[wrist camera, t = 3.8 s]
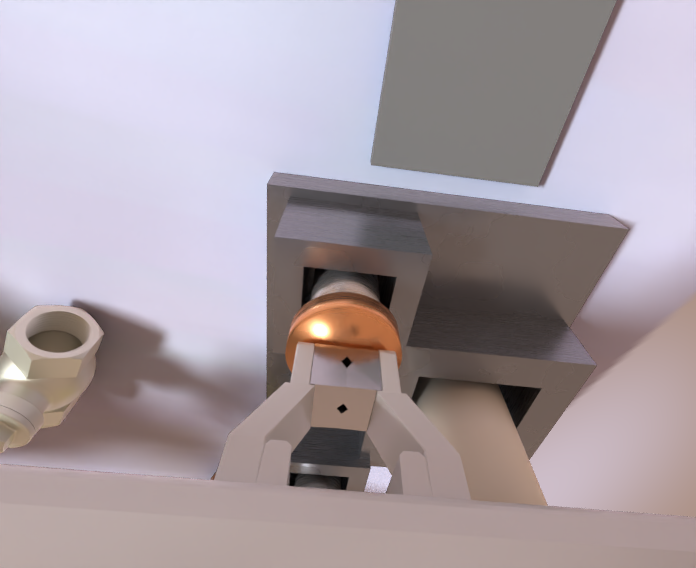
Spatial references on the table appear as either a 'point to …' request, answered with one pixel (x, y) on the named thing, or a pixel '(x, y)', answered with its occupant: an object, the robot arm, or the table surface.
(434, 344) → the housing
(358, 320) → the plunger
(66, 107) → the table surface
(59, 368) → the valve
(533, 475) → the cylinder
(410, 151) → the mat
